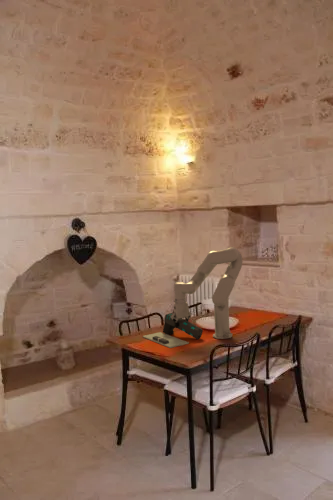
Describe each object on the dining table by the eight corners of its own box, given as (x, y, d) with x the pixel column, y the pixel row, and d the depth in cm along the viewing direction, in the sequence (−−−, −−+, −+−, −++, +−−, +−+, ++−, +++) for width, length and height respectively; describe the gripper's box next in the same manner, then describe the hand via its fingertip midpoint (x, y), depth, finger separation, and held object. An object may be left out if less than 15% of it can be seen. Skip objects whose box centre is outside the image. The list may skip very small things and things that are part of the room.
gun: (167, 329, 335) (171, 310, 331) (199, 348, 318) (204, 328, 313) (161, 331, 331) (164, 312, 326) (193, 351, 313) (198, 330, 308)
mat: (188, 343, 304) (188, 342, 304) (170, 348, 297) (170, 346, 297) (160, 333, 333) (160, 332, 333) (142, 337, 326) (142, 335, 326)
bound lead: (169, 342, 306) (169, 340, 305) (164, 344, 304) (164, 341, 303) (156, 338, 318) (156, 335, 318) (152, 339, 316) (152, 336, 316)
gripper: (172, 303, 313) (174, 330, 314) (194, 299, 322) (195, 325, 323) (166, 301, 319) (167, 328, 320) (187, 298, 328) (189, 323, 330)
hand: (181, 326), depth 322 cm, fingers closed on gun, 7 cm apart
